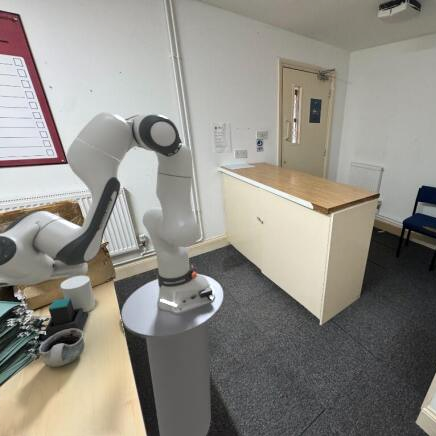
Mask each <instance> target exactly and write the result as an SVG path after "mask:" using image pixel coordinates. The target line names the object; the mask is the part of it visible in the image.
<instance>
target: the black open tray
mask: <svg viewBox="0 0 436 436" xmlns="http://www.w3.org/2000/svg"><path fill="white" fill-rule="evenodd" d="M74 312H75V316H76V318H75V320H74V322H71V323H67V324H62V325H57V326H54V325H53V321H52V318H51V317H50V319H49V321H48V323H47V325H46V326H45V328H44V332H45V331H46V334H47V335H45V336H43V335H42V336H41V341H42V342H44V341H45V340H47V339H48V338H49V337H51V336H53V335H54V334H56V333H58V332H61V331H63V330H67V329H79V330H81V331H82V332H84V328H85V327H86V323H87V321H88V318H89V311H87V312H83V309H82V308H80V309H74ZM42 338H44V339H42Z"/></svg>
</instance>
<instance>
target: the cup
mask: <svg viewBox="0 0 436 436" xmlns="http://www.w3.org/2000/svg"><path fill="white" fill-rule="evenodd" d="M59 286H60V291H61V293H62V297H63V299H66V298H71V301H72V305H73V309H80V308H82V309H83V312H87V311H88V312H90V311H92V310H93V309H94V308H95V306H96V300H95V296H94V291H93V287H92V283H91V278H90V276H88V275H78V276H75V277H72V278H67V279H65V280H63V281H62V282H61V283H60V285H59Z"/></svg>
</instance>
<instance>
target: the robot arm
mask: <svg viewBox="0 0 436 436" xmlns="http://www.w3.org/2000/svg"><path fill="white" fill-rule="evenodd" d="M135 147H137V148H139V149H140V148H141V149H144V150H147V151H149V152H154V153H155V155H156V157H157V163H158V164H157V173H156V189H155V190H156V191H155V195H156V198H157V199H158V201H159V204H160V206H154V207H151V208H149V209H147V210H146V211H145V212H144V214H143V216H142V224H143V226H144V228H145V229H146V231H147V233H148V235H149V238H150V241H151V244H152V247H153V250H154V253H155V255H156V256H155V257H156V262H157V269H158V271H157V279H158V284H159V297H158V301H157V305H158V307H159V308H160V309H162V310H165V311H170V312H172V313H174V314H180V313H183V312H186V311H188V310H191V309H194V308H197V307H199V306H202V305H205V304H208V303H210V302H213V301H214V299H215V290H214V288H213V286H212V285H211V284H210V283H209V282H208V281H207V279H206V278H205V277H204V276H202V275H203V274H201V275H199V274H200V273H197V272H196V270H195V268H194V266H193V265H190V257H189V256H190V255H189V253H190V252H189V250H188V248H189V247H191V246H193V245H194V244H195V243H197V241H198V240H199V239H200V237H201V236H200V235H201V228H200V225H199V224H198V223H197V220H196V219H195V215H194V210H193V206H192V200H191V196H192V195H191V194H192V181H193V155H192V150H191V148H190V147H189V146H187V145H186V144H184V143H183V142H182V139H181V136H180V133H179V130H178V127H177V126H176V124H175V123H174V122H173V121H172V120H171V119H169V118H168V117H167V116H164V115H163V114H158V113H157V114H156V113H142V114H141V113H140V114H137V115H133V116H130V117H129V118H125V119H124V118H122V117H121V116H119V115H117V114H115V113H111V112H106V111H105V112H99V113H98V114H96V115H95V116H94V117H93V118H92V119H91V120H90V121H88V123H86V125H85V126H84V127H83V128H82V129H81V130H80V131H79V132H78V134H77V135H76V137H75V139H74V140H73V141H72V142H71V144H70V146H69V147H68V150H67V153H66V161H67V163H68V166H69V167H70V169H71V171H72V172H73V174H74V175H75V176H77V177H78V179H80V180H81V182H82V183H83V184H84V185H85V186H86V188H87V189H88V190H89V192H90V195H91V203H90V206H89V209H88V211H87V214H86V216H85V218H84V221H83V223H82V226H80V225H78V224H76V223H74V222H71V221H69V220H67V219H65V218H63V217H61V216H59V215H57V214H54V213H52V212H50V211H47V210H36V211H32V212H28V213H26V214H23V215H21V216H20V215H19V217H17V218H16V219H14V220H12V222H10V224H8V226H7V227H6V228H4V230H3V232H2V233H0V288H2V287H10V286H20V285H22V286H33V285H37V284H40V283H43V282H44V281H51V280H58V279H65V278H67V279H69V278H72V277H76V276H85V275H86V274H88V271H89V270H88V269H89V264H88V262H91V261H92V260H93V259H94V258H95V257H96V256H97V255H98V253H99V252H100V250H101V247H102V243H103V238H104V234H105V231H106V229H107V227H108V224H109V221H110V220H111V219H110V218H111V216H112V213H113V211H114V208H115V206H116V203H117V200H118V197H119V195H120V191H121V182H120V180H119V179H118V171H119V168H120V165H121V163H122V162H123V159H124V158H125V156H126V154H127V153H128V152H129V151H130V150H131V149H134V148H135ZM54 259H56V261H55V260H54Z"/></svg>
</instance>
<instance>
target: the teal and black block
mask: <svg viewBox="0 0 436 436" xmlns="http://www.w3.org/2000/svg"><path fill="white" fill-rule="evenodd" d="M48 312H49V315H50V319H51V318H52V321H53V325H54V326H57V325H62V324H67V323H71V322H74V320H75V318H76V316H75V312H74V309H73V305H72V301H71V298H66V299H64V298H61V299H55V300H54V299H53V301H52V302H51V304H50V306H49V308H48Z"/></svg>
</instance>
